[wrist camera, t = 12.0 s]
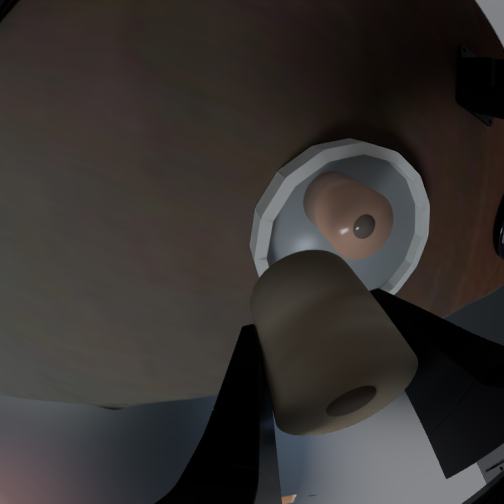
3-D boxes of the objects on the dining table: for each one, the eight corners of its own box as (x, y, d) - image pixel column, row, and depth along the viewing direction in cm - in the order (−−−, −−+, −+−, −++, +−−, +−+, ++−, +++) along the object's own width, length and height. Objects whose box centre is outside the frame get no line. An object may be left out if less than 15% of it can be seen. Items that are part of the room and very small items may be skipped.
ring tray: (431, 165, 18) (447, 171, 17) (383, 305, 25) (392, 318, 23) (268, 121, 16) (275, 122, 14) (240, 309, 22) (243, 325, 20)
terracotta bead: (343, 160, 16) (381, 177, 12) (364, 208, 18) (400, 235, 14) (292, 191, 17) (318, 217, 13) (318, 237, 19) (346, 272, 15)
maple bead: (354, 237, 9) (436, 327, 5) (351, 320, 11) (400, 406, 7) (239, 266, 9) (264, 388, 5) (260, 346, 11) (283, 447, 7)
